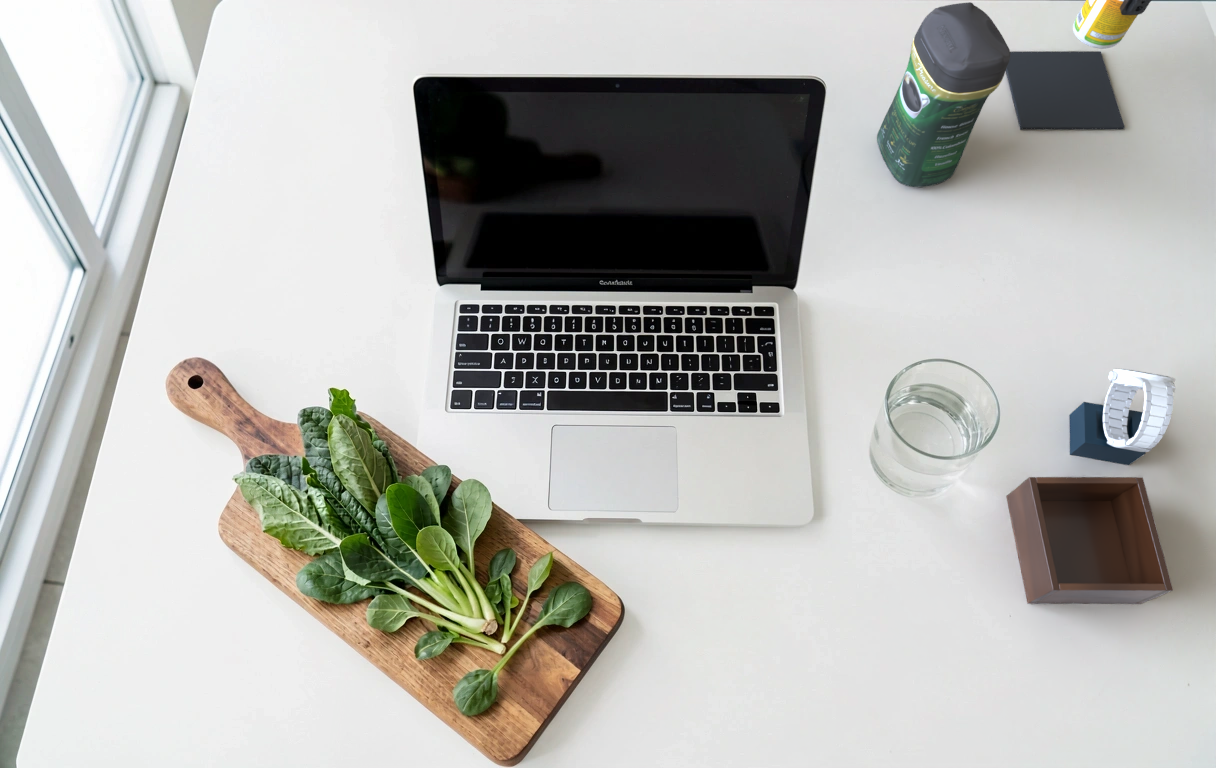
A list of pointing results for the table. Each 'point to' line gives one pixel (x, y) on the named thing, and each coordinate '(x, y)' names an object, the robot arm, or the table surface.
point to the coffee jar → (942, 94)
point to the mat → (1062, 91)
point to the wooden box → (1087, 541)
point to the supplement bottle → (1102, 23)
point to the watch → (1123, 418)
